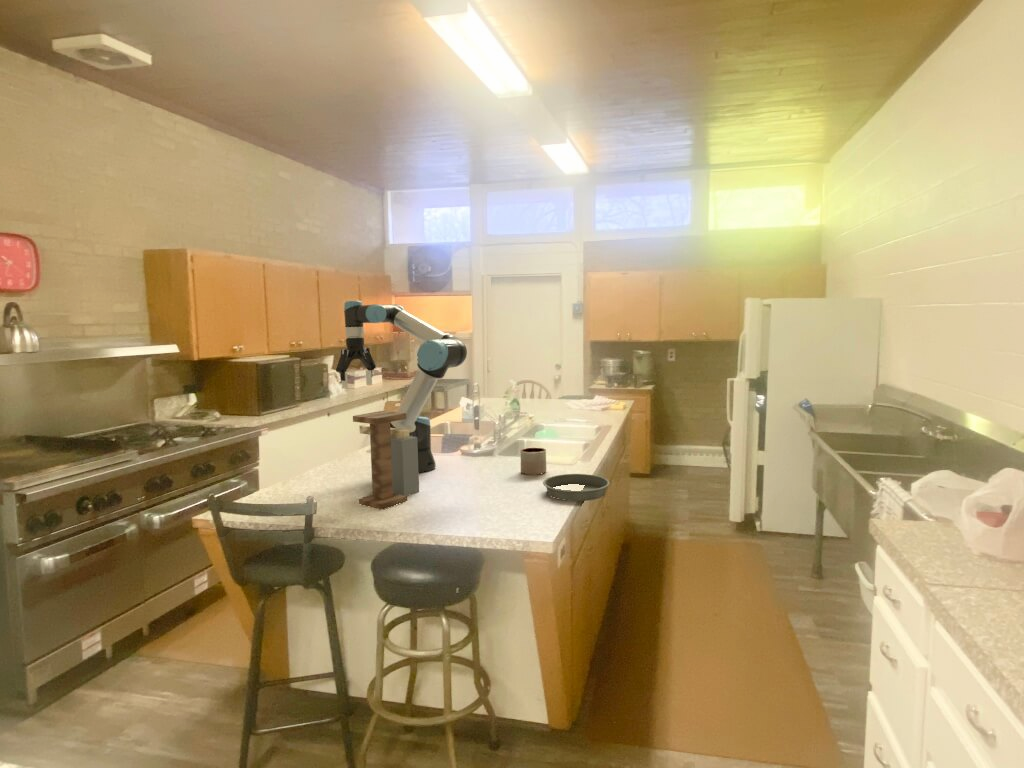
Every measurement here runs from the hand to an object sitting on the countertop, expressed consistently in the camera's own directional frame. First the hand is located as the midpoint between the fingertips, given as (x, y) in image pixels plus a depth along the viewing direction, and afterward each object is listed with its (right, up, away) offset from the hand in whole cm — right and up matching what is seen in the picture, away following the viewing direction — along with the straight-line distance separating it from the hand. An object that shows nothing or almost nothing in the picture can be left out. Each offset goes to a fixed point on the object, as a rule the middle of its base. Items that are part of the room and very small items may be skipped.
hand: (357, 386), depth 284 cm
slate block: (+22, -40, -32) cm, 55 cm away
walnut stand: (+20, -41, -48) cm, 66 cm away
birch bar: (+18, -19, -31) cm, 40 cm away
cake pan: (+90, -40, -39) cm, 106 cm away
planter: (+76, -36, -6) cm, 84 cm away
